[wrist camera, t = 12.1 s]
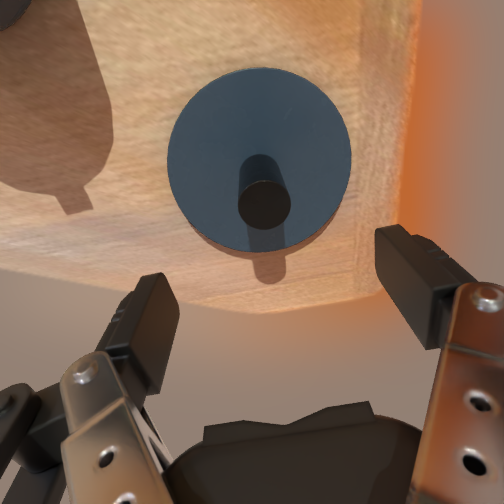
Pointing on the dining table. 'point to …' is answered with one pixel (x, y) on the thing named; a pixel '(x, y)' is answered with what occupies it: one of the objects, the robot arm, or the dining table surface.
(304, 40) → the dining table surface
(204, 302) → the dining table surface
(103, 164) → the dining table surface
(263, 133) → the lid
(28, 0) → the pot
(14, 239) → the dining table surface
